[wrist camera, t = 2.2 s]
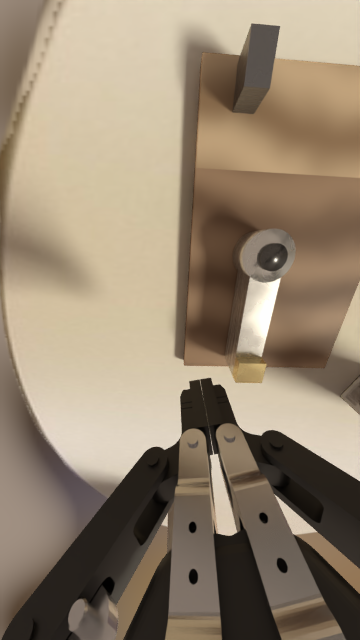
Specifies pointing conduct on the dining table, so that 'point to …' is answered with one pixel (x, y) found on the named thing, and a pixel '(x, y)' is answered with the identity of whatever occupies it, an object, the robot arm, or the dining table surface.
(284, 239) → the latch bar
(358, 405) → the coffee box
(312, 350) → the door board
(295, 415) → the dining table surface
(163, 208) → the dining table surface
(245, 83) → the block
